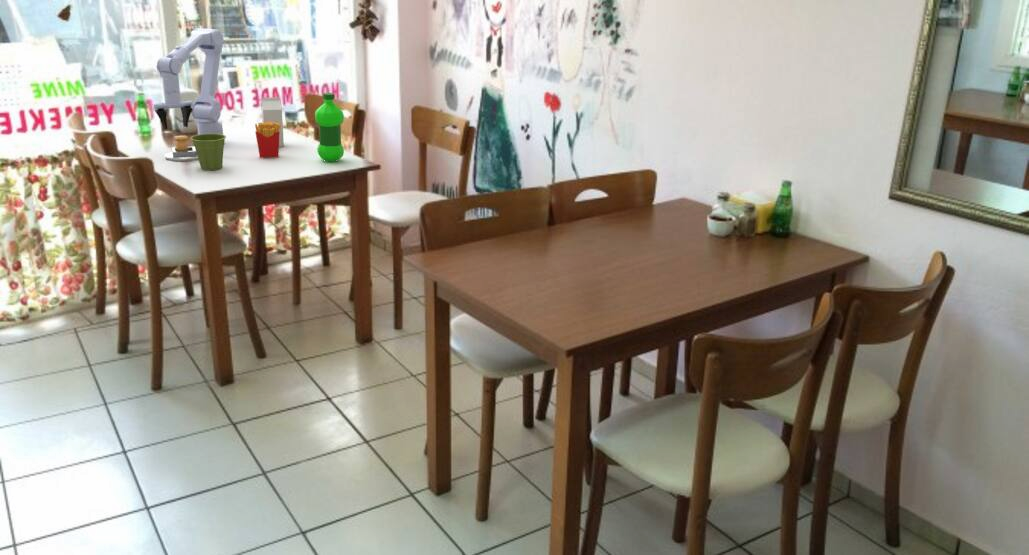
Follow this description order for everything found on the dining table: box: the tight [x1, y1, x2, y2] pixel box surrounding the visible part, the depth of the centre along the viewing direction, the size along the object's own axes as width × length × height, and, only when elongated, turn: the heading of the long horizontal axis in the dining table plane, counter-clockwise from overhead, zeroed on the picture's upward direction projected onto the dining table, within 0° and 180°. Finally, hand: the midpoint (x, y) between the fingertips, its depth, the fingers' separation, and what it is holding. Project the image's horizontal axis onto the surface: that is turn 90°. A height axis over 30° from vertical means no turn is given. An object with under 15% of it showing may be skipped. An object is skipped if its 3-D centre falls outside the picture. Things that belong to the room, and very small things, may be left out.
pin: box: [173, 135, 189, 152], centre depth 308 cm, size 5×5×7 cm
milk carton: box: [260, 97, 285, 148], centre depth 330 cm, size 7×7×19 cm
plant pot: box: [190, 134, 227, 171], centre depth 295 cm, size 12×12×11 cm
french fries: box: [254, 122, 281, 158], centre depth 314 cm, size 9×4×13 cm, turn 108°
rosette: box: [165, 145, 199, 163], centre depth 310 cm, size 20×13×3 cm, turn 113°
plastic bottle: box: [314, 92, 345, 162], centre depth 311 cm, size 10×10×25 cm
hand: (175, 127), depth 311 cm, fingers open, 7 cm apart
